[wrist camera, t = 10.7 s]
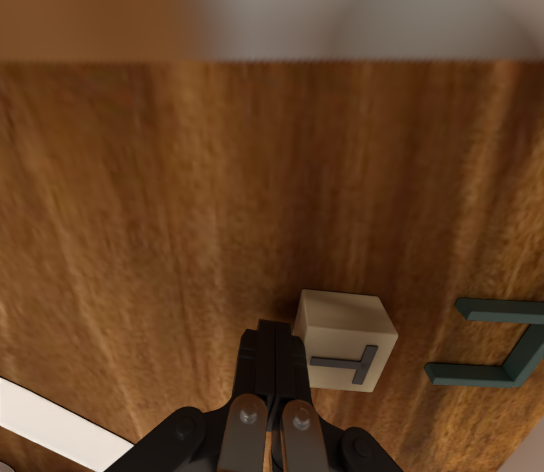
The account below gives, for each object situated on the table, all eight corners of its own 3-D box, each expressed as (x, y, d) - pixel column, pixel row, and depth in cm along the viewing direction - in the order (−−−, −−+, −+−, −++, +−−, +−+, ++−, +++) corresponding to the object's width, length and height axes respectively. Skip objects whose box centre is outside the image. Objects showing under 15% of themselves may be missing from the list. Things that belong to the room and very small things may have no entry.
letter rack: (423, 369, 16) (432, 384, 15) (458, 297, 14) (471, 311, 13) (506, 373, 16) (519, 388, 15) (556, 303, 14) (576, 317, 13)
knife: (-104, 318, 14) (-155, 362, 15) (264, 531, 26) (226, 549, 27) (-77, 303, 15) (-125, 345, 16) (264, 513, 27) (227, 532, 28)
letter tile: (290, 343, 15) (293, 388, 13) (302, 288, 13) (307, 328, 11) (357, 349, 15) (373, 395, 13) (378, 295, 14) (400, 337, 11)
